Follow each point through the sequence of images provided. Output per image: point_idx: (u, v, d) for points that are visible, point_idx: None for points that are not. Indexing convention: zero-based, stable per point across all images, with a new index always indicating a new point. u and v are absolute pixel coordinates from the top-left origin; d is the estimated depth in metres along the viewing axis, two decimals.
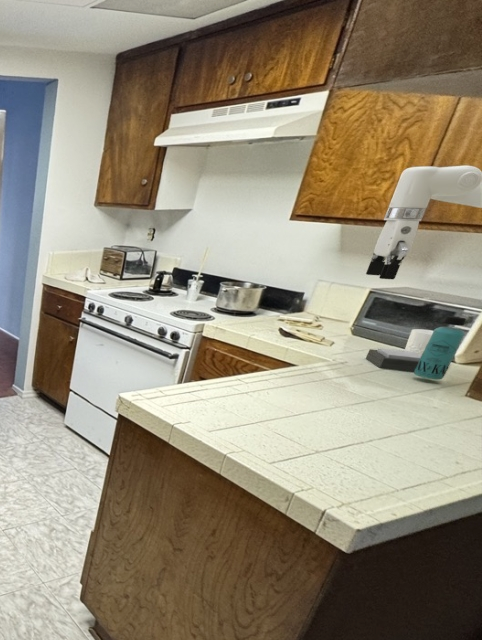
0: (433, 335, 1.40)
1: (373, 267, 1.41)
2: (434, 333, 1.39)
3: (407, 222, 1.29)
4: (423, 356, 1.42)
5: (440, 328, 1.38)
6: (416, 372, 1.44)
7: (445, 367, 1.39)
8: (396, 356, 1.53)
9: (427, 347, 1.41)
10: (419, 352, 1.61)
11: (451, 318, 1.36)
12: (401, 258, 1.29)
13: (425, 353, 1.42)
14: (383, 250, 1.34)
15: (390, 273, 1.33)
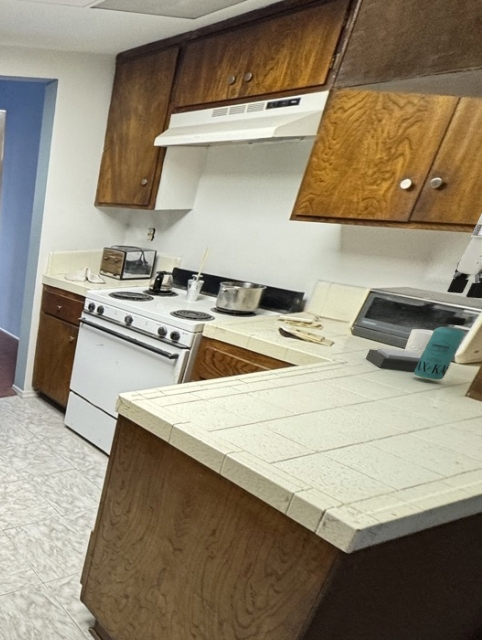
0: (433, 335, 1.40)
1: (455, 285, 1.37)
2: (434, 333, 1.39)
3: None
4: (423, 356, 1.42)
5: (440, 328, 1.38)
6: (416, 372, 1.44)
7: (445, 367, 1.39)
8: (396, 356, 1.53)
9: (427, 347, 1.41)
10: (419, 352, 1.61)
11: (451, 318, 1.36)
12: None
13: (425, 353, 1.42)
14: (471, 268, 1.30)
15: (478, 292, 1.29)
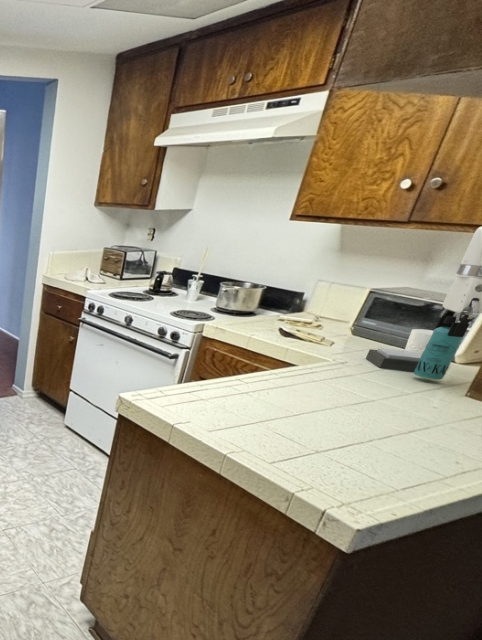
0: (433, 335, 1.40)
1: (442, 323, 1.40)
2: (434, 333, 1.39)
3: None
4: (423, 356, 1.42)
5: (440, 328, 1.39)
6: (416, 372, 1.44)
7: (445, 367, 1.39)
8: (396, 356, 1.53)
9: (427, 347, 1.41)
10: (419, 352, 1.61)
11: (451, 318, 1.36)
12: (472, 318, 1.31)
13: (425, 353, 1.42)
14: (455, 306, 1.34)
15: (459, 331, 1.34)
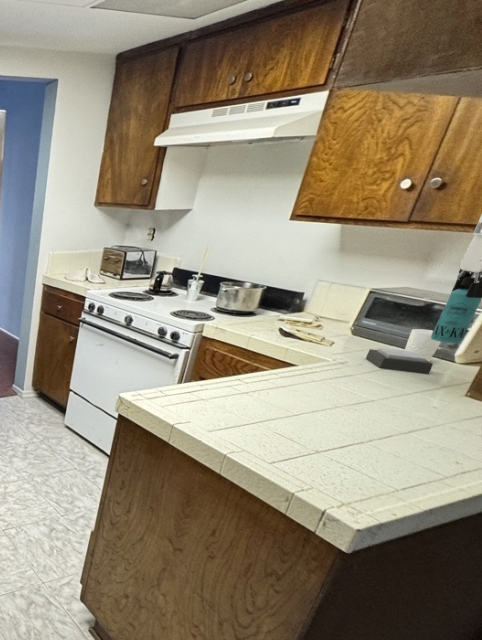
0: (450, 298, 1.36)
1: (460, 285, 1.37)
2: (451, 295, 1.36)
3: None
4: (440, 320, 1.38)
5: (458, 290, 1.35)
6: (433, 337, 1.40)
7: (464, 330, 1.35)
8: (396, 356, 1.53)
9: (444, 310, 1.37)
10: (419, 352, 1.61)
11: (469, 279, 1.32)
12: None
13: (442, 317, 1.38)
14: (474, 266, 1.30)
15: (478, 292, 1.30)
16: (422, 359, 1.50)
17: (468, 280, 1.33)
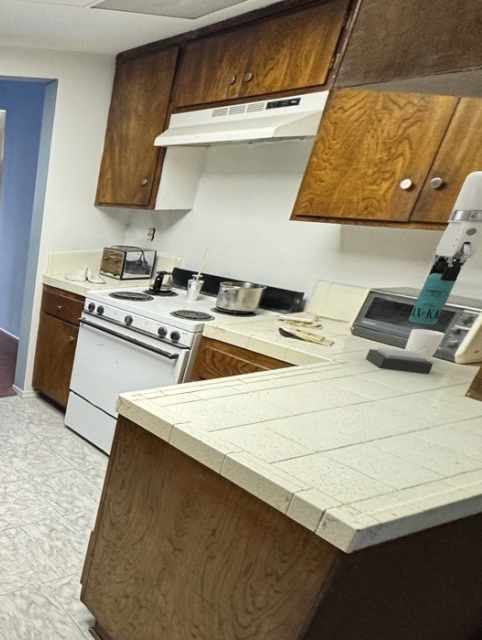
0: (427, 281, 1.45)
1: (435, 270, 1.46)
2: (428, 279, 1.45)
3: (473, 224, 1.34)
4: (417, 302, 1.48)
5: (433, 274, 1.44)
6: (411, 318, 1.49)
7: (438, 312, 1.44)
8: (396, 356, 1.53)
9: (421, 293, 1.47)
10: (419, 352, 1.61)
11: (444, 263, 1.42)
12: (463, 261, 1.36)
13: (419, 299, 1.47)
14: (448, 251, 1.39)
15: (452, 275, 1.39)
16: (422, 359, 1.50)
17: (443, 264, 1.42)
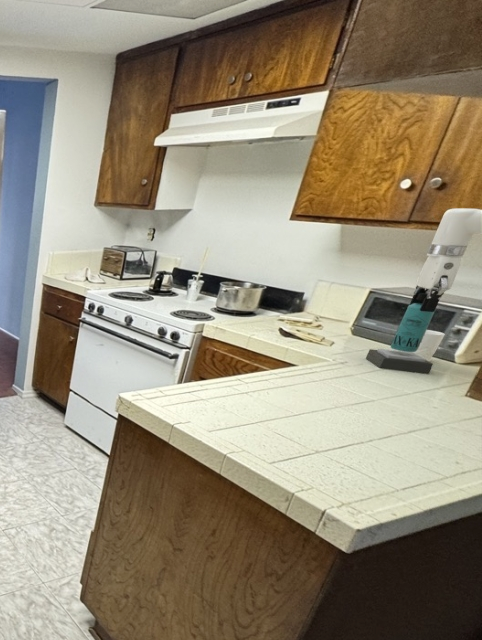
0: (407, 311, 1.51)
1: (416, 300, 1.52)
2: (408, 309, 1.51)
3: (450, 258, 1.40)
4: (398, 331, 1.54)
5: (413, 304, 1.50)
6: (392, 346, 1.56)
7: (418, 340, 1.51)
8: (396, 357, 1.53)
9: (402, 322, 1.53)
10: (419, 352, 1.61)
11: (423, 295, 1.48)
12: (441, 293, 1.42)
13: (400, 328, 1.53)
14: (427, 283, 1.46)
15: (430, 306, 1.46)
16: (422, 360, 1.50)
17: (422, 295, 1.48)
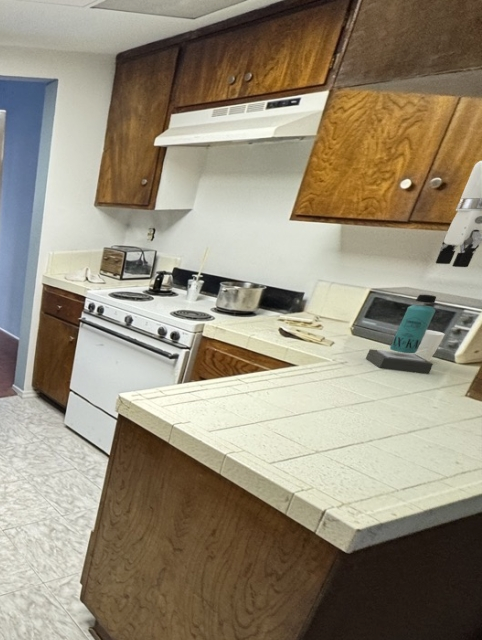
0: (407, 312, 1.52)
1: (443, 256, 1.47)
2: (408, 310, 1.51)
3: (481, 212, 1.35)
4: (398, 332, 1.54)
5: (413, 306, 1.50)
6: (392, 347, 1.56)
7: (418, 342, 1.51)
8: (395, 358, 1.53)
9: (401, 323, 1.53)
10: (419, 352, 1.61)
11: (423, 296, 1.48)
12: (476, 246, 1.35)
13: (400, 329, 1.53)
14: (456, 240, 1.40)
15: (464, 261, 1.39)
16: (421, 361, 1.51)
17: (422, 297, 1.48)
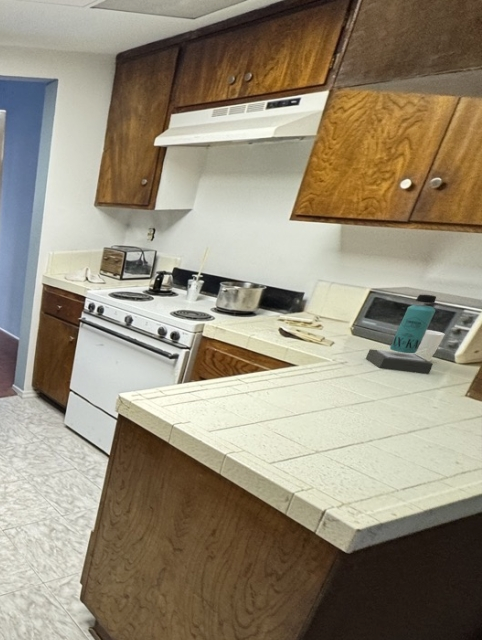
0: (407, 312, 1.52)
1: None
2: (408, 310, 1.51)
3: None
4: (398, 332, 1.54)
5: (413, 306, 1.50)
6: (392, 347, 1.56)
7: (418, 342, 1.51)
8: (395, 358, 1.53)
9: (401, 323, 1.53)
10: (419, 352, 1.61)
11: (423, 296, 1.48)
12: None
13: (400, 329, 1.53)
14: None
15: None
16: (421, 361, 1.51)
17: (422, 297, 1.48)
